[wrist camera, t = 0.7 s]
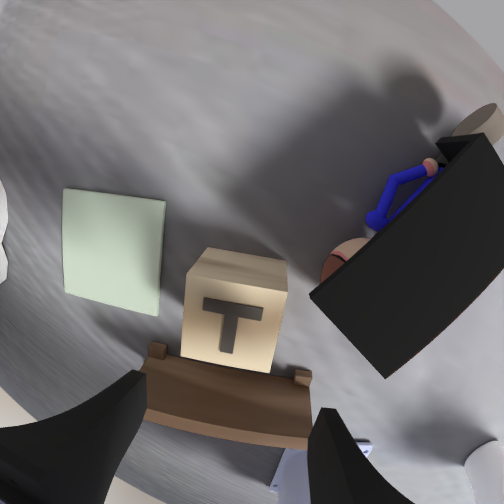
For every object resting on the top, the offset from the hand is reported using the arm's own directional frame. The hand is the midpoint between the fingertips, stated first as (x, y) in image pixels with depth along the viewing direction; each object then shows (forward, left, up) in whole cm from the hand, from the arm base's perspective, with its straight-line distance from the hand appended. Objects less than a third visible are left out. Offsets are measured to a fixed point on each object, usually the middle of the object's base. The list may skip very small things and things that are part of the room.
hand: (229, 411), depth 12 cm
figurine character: (+8, -9, -10) cm, 16 cm away
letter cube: (+1, +1, -10) cm, 10 cm away
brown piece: (-6, +1, -10) cm, 12 cm away
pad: (+2, +10, -10) cm, 14 cm away
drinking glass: (-16, -30, -10) cm, 36 cm away
